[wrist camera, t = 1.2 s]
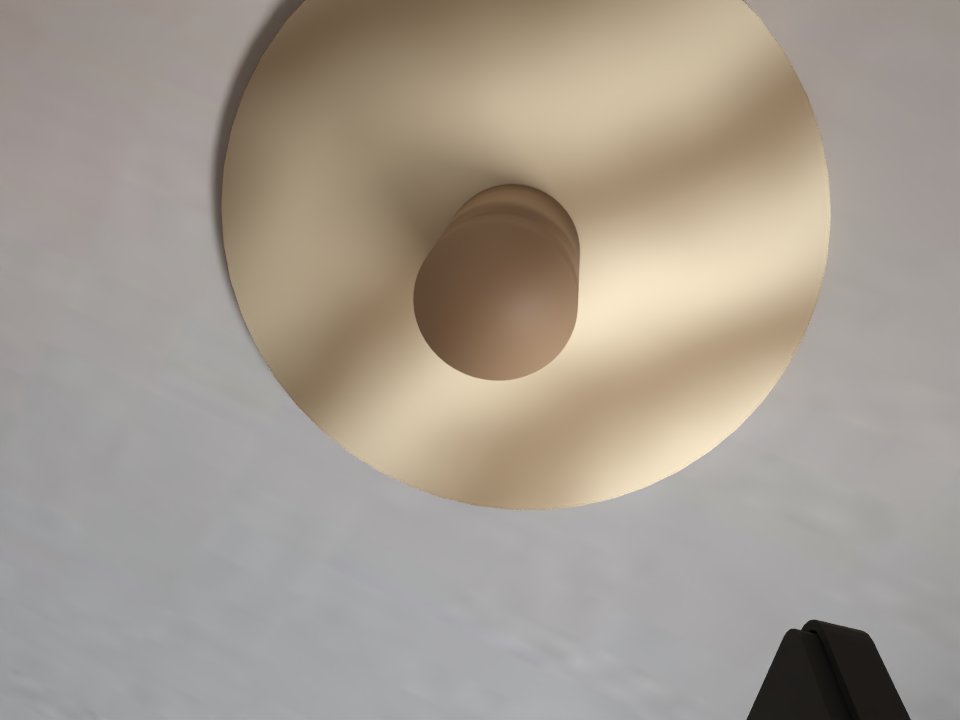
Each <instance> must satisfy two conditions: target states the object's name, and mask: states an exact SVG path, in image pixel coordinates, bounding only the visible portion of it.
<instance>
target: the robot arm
mask: <svg viewBox="0 0 960 720" xmlns="http://www.w3.org/2000/svg"><path fill="white" fill-rule="evenodd" d="M747 720H911V719H910V717H909V715H908V713H907V711H906V709H905V707H904V705H903V703H902V701H901V699H900V696H899V694H898V692H897V690H896V688H895V686H894V684H893V682H892V680H891V678H890V676H889V673H888V671H887V669H886V667H885V665H884V663H883V661H882V659H881V657H880V655H879V653H878V651H877V648H876V646H875V644H874V642H873V640H872V639H871V637H870V636H869V635H868V634H867V633H865V632H864V631H861V630H857V629H853V628H848V627H844V626H840V625H835V624H831V623H827V622H823V621H818V620H809V621H808V622H807V623H806V624H805V625H804V626H803V628H802V630H798V629H790V630H789V631H788V632H786V634H785V636H784V638H783V640H782V642H781V644H780V646H779V649H778V651H777V653H776V655H775V657H774V660H773V662H772V664H771V666H770V669H769V671H768V673H767V675H766V678H765V680H764V682H763V684H762V686H761V689H760V691H759V693H758V695H757V698H756V700H755V702H754V704H753V707H752V709H751V711H750V713H749V715H748V718H747Z"/></svg>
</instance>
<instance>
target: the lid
mask: <svg viewBox="0 0 960 720" xmlns="http://www.w3.org/2000/svg"><path fill="white" fill-rule="evenodd" d="M221 211H222V227H223V242H224V248H225V254H226V259H227V264H228V269H229V275H230V280H231V283H232V286H233V289H234V292H235V295H236V298H237V302H238V305H239V308H240V311H241V314H242V316H243V319H244V321H245V323H246V325H247V327H248V329H249V332H250V334H251V336H252V338H253V340H254V342H255V345H256V347H257V349H258V350H259V352H260V353H261V355H262V357H263V358H264V360H265V362H266V363H267V365H268V367H269V368H270V370H271V371H272V373H273V375H274V376H275V378H276V379H277V380H278V382H279V383H280V384H281V386H282V387H283V388H284V389H285V391H286V392H287V393H288V394H289V396H290V397H291V398H292V400H293V401H294V402H295V403H296V405H297V406H298V407H299V408H300V409H301V410H302V411H303V412H304V413H305V414H306V415H307V416H308V417H309V418H310V419H311V420H312V421H313V422H314V423H315V424H316V425H317V426H318V427H319V428H320V429H321V430H322V431H323V432H324V433H326V434H327V435H328V436H329V437H331V438H332V439H333V440H334V441H336V442H337V443H338V444H339V445H341V446H342V447H343V448H344V449H346V450H347V451H348V452H349V453H351V454H353V455H354V456H356V457H357V458H359V459H360V460H362V461H364V462H365V463H367V464H368V465H370V466H371V467H373V468H375V469H376V470H378V471H380V472H382V473H384V474H386V475H388V476H390V477H392V478H394V479H396V480H398V481H400V482H402V483H404V484H406V485H408V486H411V487H414V488H417V489H419V490H422V491H425V492H428V493H431V494H433V495H436V496H439V497H442V498H446V499H450V500H455V501H459V502H463V503H467V504H472V505H476V506H485V507H493V508H501V509H511V510H547V509H556V508H566V507H575V506H582V505H586V504H591V503H595V502H600V501H604V500H609V499H613V498H616V497H619V496H622V495H625V494H628V493H630V492H633V491H636V490H639V489H642V488H645V487H647V486H649V485H651V484H654V483H656V482H658V481H660V480H662V479H664V478H666V477H668V476H670V475H672V474H674V473H676V472H678V471H680V470H682V469H683V468H685V467H686V466H688V465H689V464H691V463H692V462H694V461H696V460H697V459H699V458H700V457H702V456H703V455H705V454H706V453H708V452H709V451H711V450H712V449H713V448H714V447H715V446H717V445H718V444H719V443H720V442H722V441H723V440H724V439H725V438H726V437H728V436H729V435H730V434H731V433H732V432H734V431H735V430H736V429H737V428H738V427H739V426H740V425H741V424H742V423H743V422H744V421H745V420H746V419H747V418H748V417H749V415H750V414H751V413H752V412H753V411H754V410H755V409H756V408H757V407H758V406H759V405H760V404H761V403H762V402H763V400H764V399H765V398H766V396H767V395H768V393H769V392H770V391H771V389H772V388H773V387H774V385H775V384H776V382H777V381H778V380H779V378H780V377H781V376H782V374H783V373H784V371H785V370H786V368H787V366H788V364H789V363H790V361H791V359H792V357H793V355H794V353H795V352H796V350H797V348H798V346H799V344H800V342H801V341H802V339H803V337H804V334H805V332H806V329H807V327H808V324H809V321H810V319H811V316H812V314H813V311H814V308H815V306H816V303H817V300H818V297H819V293H820V288H821V284H822V280H823V276H824V271H825V267H826V263H827V256H828V245H829V234H830V224H831V212H830V190H829V175H828V170H827V165H826V160H825V154H824V149H823V144H822V139H821V134H820V132H819V129H818V126H817V123H816V120H815V117H814V114H813V111H812V108H811V105H810V103H809V100H808V97H807V94H806V92H805V90H804V88H803V86H802V84H801V83H800V81H799V79H798V77H797V75H796V73H795V71H794V69H793V67H792V65H791V63H790V61H789V59H788V57H787V55H786V54H785V53H784V51H783V50H782V48H781V47H780V46H779V44H778V43H777V41H776V40H775V39H774V37H773V36H772V35H771V33H770V32H769V30H768V29H767V28H766V26H765V25H764V23H763V22H762V21H761V19H760V18H759V17H758V16H757V15H756V14H755V13H754V12H753V11H752V10H751V9H750V8H749V7H748V6H747V5H746V4H745V3H744V2H743V1H742V0H305V1H304V2H303V3H302V4H301V5H300V6H299V8H298V9H297V10H296V11H295V12H294V13H293V14H292V15H291V16H290V17H289V18H288V19H287V21H286V22H285V23H284V25H283V26H282V28H281V29H280V30H279V32H278V33H277V35H276V36H275V38H274V39H273V41H272V42H271V43H270V45H269V46H268V48H267V49H266V51H265V52H264V54H263V55H262V57H261V59H260V61H259V63H258V65H257V67H256V69H255V71H254V73H253V75H252V77H251V79H250V81H249V83H248V85H247V87H246V89H245V91H244V93H243V96H242V99H241V102H240V105H239V108H238V111H237V114H236V117H235V120H234V123H233V126H232V129H231V133H230V138H229V143H228V148H227V153H226V158H225V163H224V170H223V186H222V201H221Z"/></svg>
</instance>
